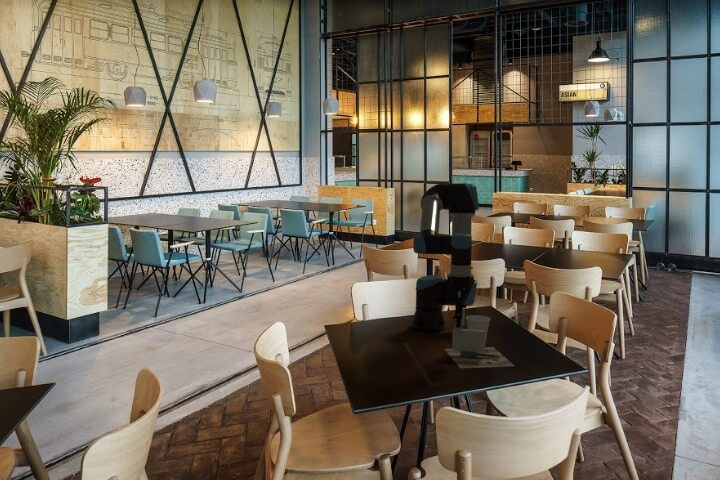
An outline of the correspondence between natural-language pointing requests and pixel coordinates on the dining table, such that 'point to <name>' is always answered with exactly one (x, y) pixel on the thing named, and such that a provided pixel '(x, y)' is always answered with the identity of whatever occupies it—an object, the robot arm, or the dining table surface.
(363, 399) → the dining table surface
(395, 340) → the dining table surface
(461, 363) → the board
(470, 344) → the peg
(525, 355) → the dining table surface
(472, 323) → the cup
